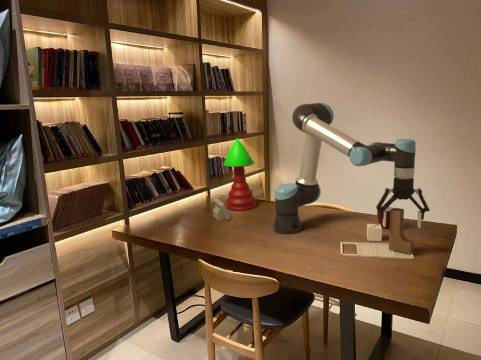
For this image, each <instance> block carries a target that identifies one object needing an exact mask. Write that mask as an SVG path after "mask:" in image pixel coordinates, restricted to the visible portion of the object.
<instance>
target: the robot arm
mask: <svg viewBox="0 0 481 360" xmlns="http://www.w3.org/2000/svg"><path fill="white" fill-rule="evenodd" d="M291 116H292V117H291V119H292V122H293V125H294V126H295V127H296V128H297V129H298V130H299V131H301V132H302V133H304V134H305V135H304V141H303V148H302V154H301V162H300V168H299V169H300V170H299V176H297V177H296V178H295V183H292V182H287V183H282V184H280V185H278V186H276V187H275V189H274V201H275V202H274V203H275V217H274V220H273V224H272V230H273V232H275V233H278V234H285V235H286V234H287V235H290V234H296V233H299V232H301V231H302V230H303V224H302V220H301V218H300V215H299V207H303V206H306V205H310V204H313V203H315V202H316V201H318V199H319V198H320V196H321V193H322V191H321V190H322V189H321V187H320V185H319V181H318V179H317V171H318V168H319V167H318V166H319V165H318V164H319V159H320V153H321V147H322V142H323V143H325V144H327V145H329V146H330V147H332V148H333V149H335V150H336V151H338V152H340V153H342V154H343V155H345V156H347V157H348V158H349V161H350V162H351V164H352V165H353V166H355V167H365V166H368V165H371V164H375V163H378V162H379V163H380V162H392V163H393V164H394V165H393V166H394V167H393V168H394V170H393V176H394V177H393V186H392V187H393V188H388V187H385V188H384V193H383V195H381V198H380V199H379V201H378V203H377V205H376V206H375V208H376V211H377V210H380V211H381V215H380V217H381V219H383V226H384V227H385V226H386V211H385V210H386V209H387V208H388V207H391V205H392V204H393V203H394V202H395V201H397V200H406V201H407V200H410V201H411V202H412V203H413V204H414V205H415V206H416V207H417V208H418V211H417V224H416V226H417V228H418V229H421V227H422V225H421V224H422V221H424V219H425V213H426V212H430V207H429V206H428V203H427V202H426V199H425V197H424V196H423V190H422V189H421V188H420V187H418V188H415V189H414V184H415V183H414V182H415V181H414V180H415V178H414V177H415V160H416V152H417V151H416V148H417V147H416V140H415V139H412V138H398V139H396V140H395V142H394V143H388V142H380V141H378V142H377V141H376V142H374V141H373V142H370V143H369V144H368V145H366V144H364V143H362V142H361V141H360V140H357V139H355V138H354V137H352V136H350V135H348V134H346V133H345V132H342V131H340V130H339V129H337V128H336V127H334V126H332V125H331V124H332V123H333V121H334V116H335V115H334V112H333V109H332V107H331V106H330V105H329V104H327V103H324V102H316V103H315V102H314V103H304V104H300V105H298V106H297V107H295V109H294V110H293V112H292V115H291ZM391 193H392V194H393V195H392V196H391V197H390V198H389V199H388V200H387V201H386V199H387V198H388V196H389V194H391ZM414 193H415V194H416V195H418V197H419V199H420V201H421V203H422V205H423V207H422V206H421V205H420V204H419V203H418V202H417V200H416V199H415V198H414V197H413V195H414ZM385 201H386V202H385Z"/></svg>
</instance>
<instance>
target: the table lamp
mask: <svg viewBox="0 0 481 360" xmlns="http://www.w3.org/2000/svg"><path fill="white" fill-rule="evenodd" d="M254 163H255V162H254V160H253V159H252V157H251V155H250V154H249V152H248V150H247V148H246V147H245V146H244V144H243V143H242V142H241V141H240V139H239V138H238V137H236V139H235V140H234V142H233V143H232V145H231V147H230V148H229V151H228V153H227V155H226V157H225V160H224V161H223V166H224V167H229V168H233V169H232V171H233V178H232V181H233V182H232V185H231V186H230V187H231V188H230V190H229V192H228V197H227V198H226V199H225V203H226V205H225V208H226V210H230V211H238V212H239V211H248V210H251V209H254V208H255V207H256V206H257V203H256V201H257V199H256V197H255V195H253V191H252V190H251V189H250V187H249V184H248V182H247V179H246V175H245V173H246V169H245V167H248V166H252V165H254Z"/></svg>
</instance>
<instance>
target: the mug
mask: <svg viewBox="0 0 481 360" xmlns="http://www.w3.org/2000/svg"><path fill="white" fill-rule="evenodd" d="M392 208H393V207H391V206H389V207H388V208H387V209H386V210H385V211H386V226H385V227H384V226H383V219H381V217H380V215H381V211H380V210H377V209H376V214H377V222H378V224H380V225H381V228H382V230H383V229H384V230H385V229H386V230H389V225H390V210H391V209H392Z"/></svg>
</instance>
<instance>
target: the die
mask: <svg viewBox="0 0 481 360" xmlns="http://www.w3.org/2000/svg"><path fill="white" fill-rule="evenodd" d="M382 230H383V228H381V225H380V224H379V223H378V224H377V223H367V224H366V238H367V241H370V242H372V241H374V242H382V240H383V239H382V238H383V237H382V236H383V234H382V233H383V231H382Z"/></svg>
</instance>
